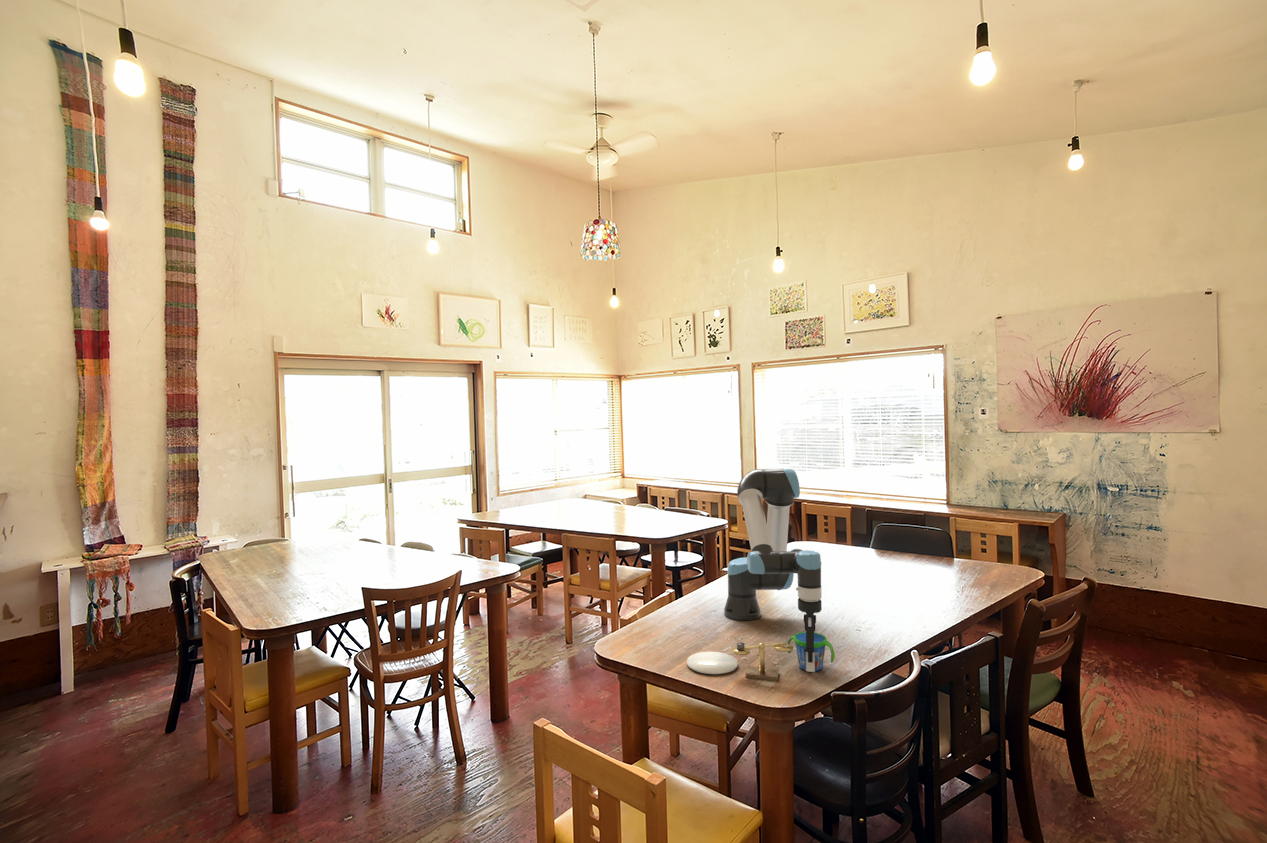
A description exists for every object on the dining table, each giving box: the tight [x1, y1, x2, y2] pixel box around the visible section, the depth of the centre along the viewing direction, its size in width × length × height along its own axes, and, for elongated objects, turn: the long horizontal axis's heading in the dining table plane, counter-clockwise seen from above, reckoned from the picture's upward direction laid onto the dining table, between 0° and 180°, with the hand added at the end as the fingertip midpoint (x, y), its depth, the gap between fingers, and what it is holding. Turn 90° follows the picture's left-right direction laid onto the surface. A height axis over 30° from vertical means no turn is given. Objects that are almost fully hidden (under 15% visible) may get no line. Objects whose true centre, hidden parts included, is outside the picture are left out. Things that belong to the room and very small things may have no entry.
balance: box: [731, 641, 794, 682], centre depth 196 cm, size 6×20×11 cm, turn 73°
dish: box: [686, 651, 739, 675], centre depth 204 cm, size 17×17×1 cm
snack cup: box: [787, 631, 836, 672], centre depth 201 cm, size 16×10×10 cm
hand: (810, 663), depth 201 cm, fingers open, 11 cm apart
